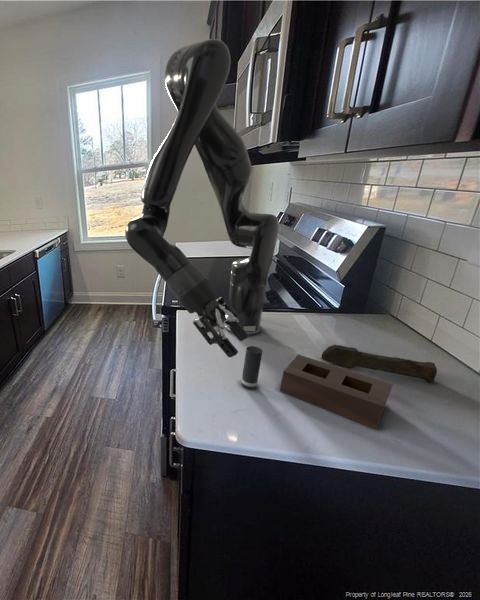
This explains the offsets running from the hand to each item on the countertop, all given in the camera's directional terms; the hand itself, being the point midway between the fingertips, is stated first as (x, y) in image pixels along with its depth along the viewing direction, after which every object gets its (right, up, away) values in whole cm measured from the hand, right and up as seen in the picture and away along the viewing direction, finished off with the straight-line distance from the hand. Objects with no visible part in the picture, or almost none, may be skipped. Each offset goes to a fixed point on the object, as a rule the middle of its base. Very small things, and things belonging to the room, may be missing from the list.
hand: (239, 346), depth 68 cm
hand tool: (+32, -6, +4) cm, 33 cm away
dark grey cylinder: (+3, -9, +2) cm, 9 cm away
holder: (+16, -10, -4) cm, 20 cm away
